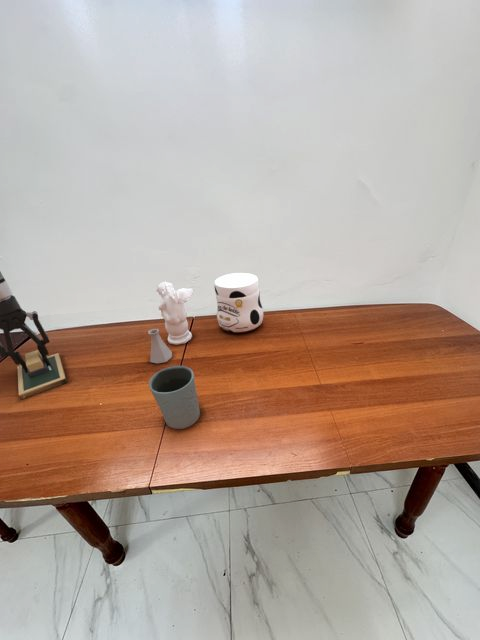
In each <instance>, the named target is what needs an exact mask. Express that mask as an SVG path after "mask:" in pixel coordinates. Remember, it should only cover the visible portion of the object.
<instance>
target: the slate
mask: <svg viewBox="0 0 480 640" xmlns="http://www.w3.org/2000/svg"><path fill="white" fill-rule="evenodd" d="M47 358H48V360H49V362H50V365H49V366H48V370H49V371H48V372H45V373H42V374H40V375H37V376H34V377H31V378H30V377H29V375H28V373H26V372H25V370H24V369H23V367H22V366H21V364H19V365H16V367H17V386H18V387H17V389H18V396H19V398H20V400H24V399H27V398H29V397H32V396H35V395H39V394H40V393H43V392H45V391H49V390H51V389H54V388H56V387H59V386H61V385H65V384H66V383H68V380H67V376H66V372H65V369H64V366H63V365H64V364H63V362H62V361H63V360H62V358H61V355H60V353H59V352H57V353H55V354H51V355H47Z"/></svg>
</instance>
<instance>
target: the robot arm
mask: <svg viewBox="0 0 480 640" xmlns="http://www.w3.org/2000/svg"><path fill="white" fill-rule="evenodd" d="M27 318H28V319H29V320H30V321H33V324H34V326H35V328H36V329H37V332H38V333H39V335H40V337H41V338H42V339H41V338H40V337H39V336H38V335H37V333H35V332H34V331H33V330H32V329H31V328H30V327H29V325H27V323H26V319H27ZM0 330H2V331H3V335H4V338H5V342H6V346H7V350H6V348H5V347H4V345H3V344H2V342H1V341H0V357H2V358H5V357H10V358H11V359H12V361H13V362H14V364H15V365H16V366H19V365H21V366H22V367H23V369H24V370H25V372H26V373H28V372H27V366H26V361H25V360H24V358H23V356H22V355H21V353H20V352H19V351H15V347H14V343H13V339H12V334H11V332H12V331H14V330H21V331H22V332H23V333H25V334H26V336H28V337H29V338H30V339H31V340H32V341H33V342H34V343H35V344H36V347H37V350H38V351H39V352H40V354H41V356H42V357H43V359H44V361H45V363H46V364H47V366H49V365H50V362H49V360H48V358H47V357H48V356H49V354H50V353H49V350H48V349H47V346H46V345H47V344H49V343H50V342H51V341H50V338H49V336H48V334H47V333H46V330H45V329H44V327H43V325H42V322H40V320H39V314H38V312H37V311H35V310H33V311H32V312H29V311H28V312H27V311H25V310H24V309H23V308H22V307H21V305H20V304H19V302H18V300H17V298H16V296H15V295H13V291H12V289H11V287H10V286H9V283H8V282H7V280H6V279H5V277H4V275H3V274H2V271H0Z"/></svg>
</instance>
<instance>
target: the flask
mask: <svg viewBox="0 0 480 640" xmlns="http://www.w3.org/2000/svg"><path fill="white" fill-rule="evenodd" d="M147 333H148V335H149V338H150V343H151V344H150V358H149V363H153V364H163V363H167V362H168V361H169V360H171V358H173V352H172V350H171V349H170V348H169V347H168V345H166V343H165V342H164V341H163V339H162V337H161V335H160V330H159V328H152V329H150V330H148V332H147Z"/></svg>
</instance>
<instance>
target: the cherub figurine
mask: <svg viewBox="0 0 480 640" xmlns="http://www.w3.org/2000/svg"><path fill="white" fill-rule="evenodd" d="M156 292H157V293H158V295H159V296H160V297H161V299H160V301H159V304H158V310H159V311H160V312H161V313H160V315H161V317H162V318H163V320H164V327H165V331H166V332H167V335H168V336H167V342H168V344H171V345H177V346H178V345H182V344H183V345H184V344H186V343H187V342H189V341H190V340H192V338H193V334H192V332H191V331H190V330H189V322H188V320H187V317H188V314H187V311H186V308H185V307H186V306H185V304H186V303H187V302H188V301H189V299H191V297H192V296H193V294H194V292H195V290H194V288H193V287H189V288H185V287H182V288H179V289H177V290H176V289H175V287H174V284H173V283H172V282H168V281H161V282H160V283H159V284H158V285H157V286H156Z"/></svg>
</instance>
